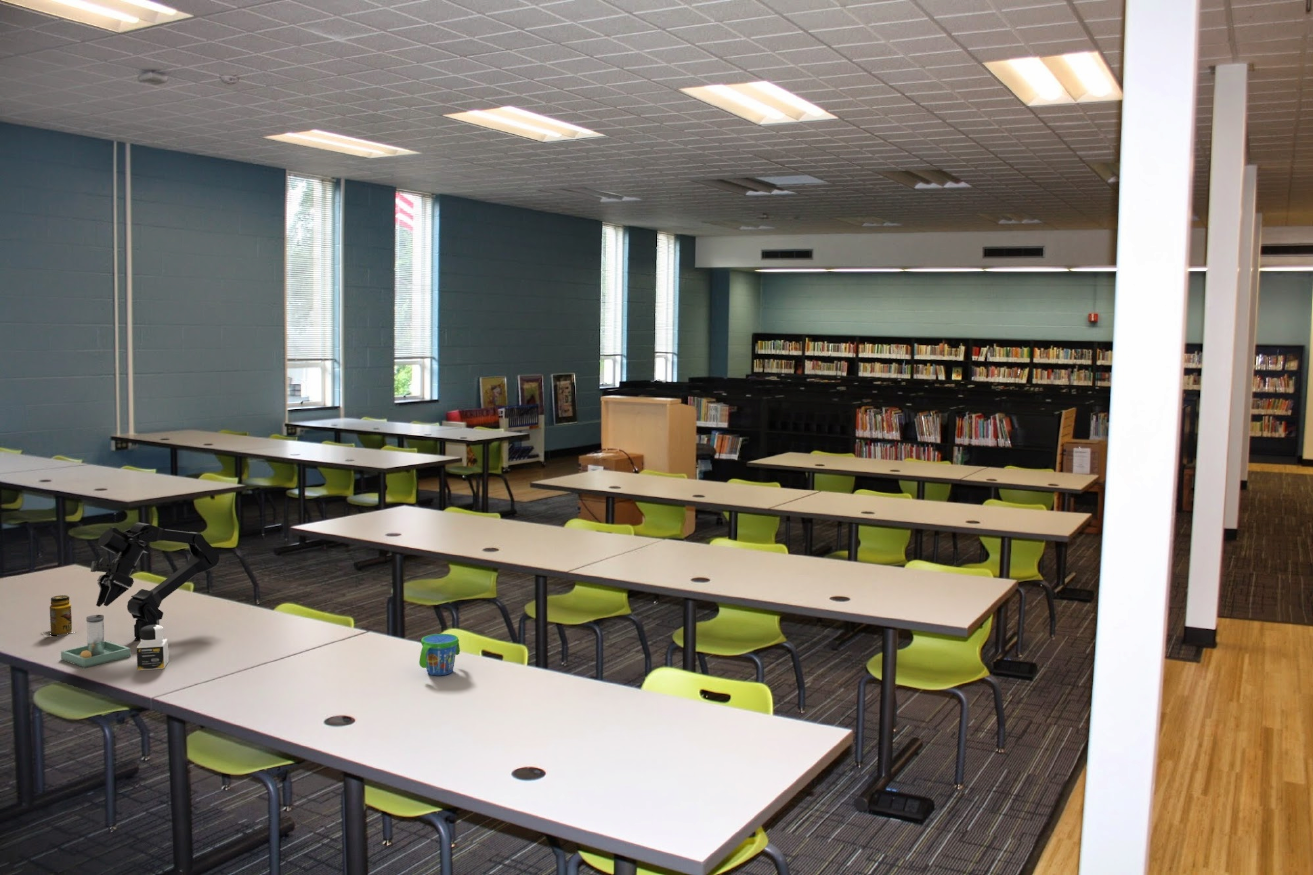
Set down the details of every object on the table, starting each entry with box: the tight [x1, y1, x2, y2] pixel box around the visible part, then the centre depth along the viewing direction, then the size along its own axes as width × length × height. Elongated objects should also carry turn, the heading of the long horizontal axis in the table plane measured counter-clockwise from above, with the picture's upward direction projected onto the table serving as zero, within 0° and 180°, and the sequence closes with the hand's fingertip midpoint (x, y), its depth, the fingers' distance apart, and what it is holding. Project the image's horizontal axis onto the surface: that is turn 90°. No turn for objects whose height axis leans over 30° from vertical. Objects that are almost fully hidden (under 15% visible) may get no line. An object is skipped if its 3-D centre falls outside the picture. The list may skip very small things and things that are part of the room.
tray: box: [60, 640, 132, 669], centre depth 306 cm, size 14×14×2 cm
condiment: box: [40, 594, 76, 638], centre depth 331 cm, size 7×8×12 cm
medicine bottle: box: [136, 624, 169, 671], centre depth 299 cm, size 7×7×12 cm
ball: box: [80, 650, 92, 658], centre depth 302 cm, size 3×3×3 cm
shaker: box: [85, 614, 105, 657], centre depth 306 cm, size 5×5×12 cm
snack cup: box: [418, 633, 461, 676], centre depth 296 cm, size 16×10×10 cm
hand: (101, 606), depth 314 cm, fingers open, 9 cm apart
